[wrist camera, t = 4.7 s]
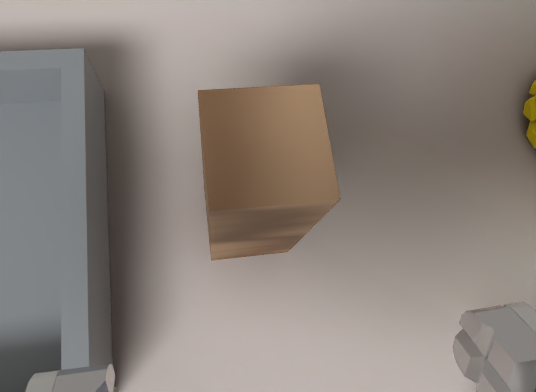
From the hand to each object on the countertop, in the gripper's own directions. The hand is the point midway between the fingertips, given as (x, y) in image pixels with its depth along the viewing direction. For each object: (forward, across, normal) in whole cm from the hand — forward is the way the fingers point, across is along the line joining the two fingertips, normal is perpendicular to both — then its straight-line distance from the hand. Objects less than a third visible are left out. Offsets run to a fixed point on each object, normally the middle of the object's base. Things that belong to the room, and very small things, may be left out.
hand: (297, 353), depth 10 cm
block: (+13, 0, +4) cm, 13 cm away
